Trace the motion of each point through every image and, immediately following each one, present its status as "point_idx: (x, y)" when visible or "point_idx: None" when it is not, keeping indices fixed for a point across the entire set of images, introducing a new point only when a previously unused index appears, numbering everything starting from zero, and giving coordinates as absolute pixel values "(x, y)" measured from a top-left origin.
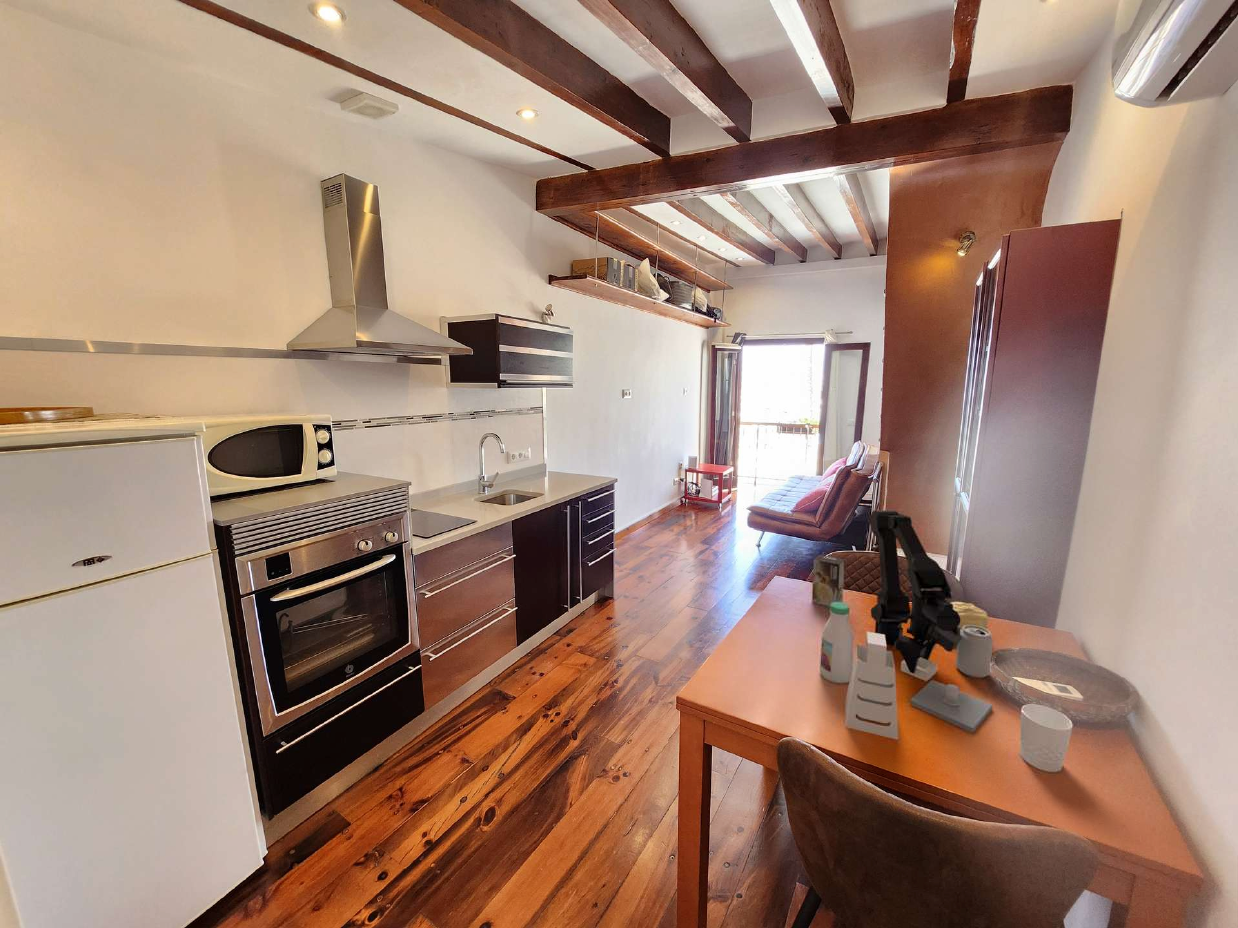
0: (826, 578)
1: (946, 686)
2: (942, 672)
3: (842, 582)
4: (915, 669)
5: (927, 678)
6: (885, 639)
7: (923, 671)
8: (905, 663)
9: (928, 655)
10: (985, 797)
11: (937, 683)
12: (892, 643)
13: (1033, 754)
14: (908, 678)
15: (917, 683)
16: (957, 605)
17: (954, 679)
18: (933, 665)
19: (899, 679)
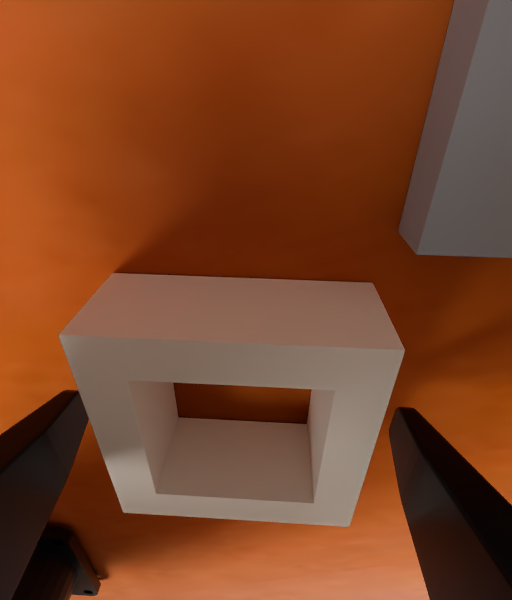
0: None
1: (502, 30)
2: (53, 231)
3: None
4: (433, 443)
5: (359, 294)
6: (65, 577)
7: (389, 379)
8: (350, 505)
9: (28, 457)
10: None
11: (477, 174)
12: (53, 543)
13: None
14: (426, 388)
15: (474, 323)
16: None
17: (62, 68)
18: (146, 350)
19: (489, 421)
